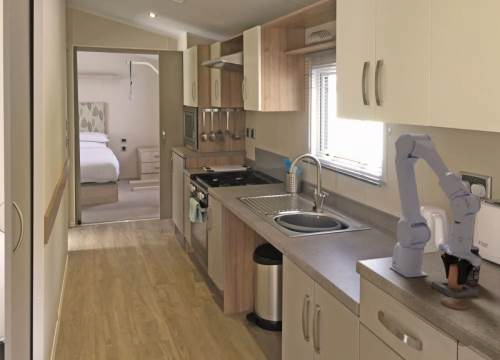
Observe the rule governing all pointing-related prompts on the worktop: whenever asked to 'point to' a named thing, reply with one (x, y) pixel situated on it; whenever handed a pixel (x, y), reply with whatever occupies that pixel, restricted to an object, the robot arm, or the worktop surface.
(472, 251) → the supplement bottle
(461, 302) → the coaster
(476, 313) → the worktop surface
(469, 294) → the eye block
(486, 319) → the worktop surface
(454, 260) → the robot arm
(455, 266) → the peg
